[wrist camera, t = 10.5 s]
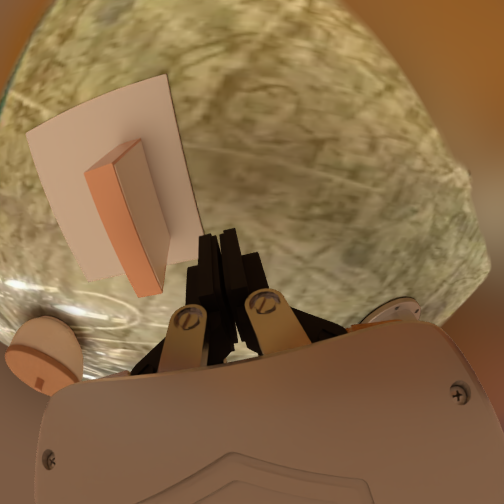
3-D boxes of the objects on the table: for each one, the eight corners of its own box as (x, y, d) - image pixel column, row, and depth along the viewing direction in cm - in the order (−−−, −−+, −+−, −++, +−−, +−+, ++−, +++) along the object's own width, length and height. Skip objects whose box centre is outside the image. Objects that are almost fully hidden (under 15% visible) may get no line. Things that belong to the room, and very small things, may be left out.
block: (171, 237, 23) (163, 293, 17) (151, 242, 23) (138, 297, 17) (141, 137, 18) (112, 162, 12) (119, 144, 18) (83, 173, 12)
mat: (209, 253, 25) (209, 256, 25) (89, 278, 24) (88, 281, 24) (166, 74, 16) (165, 73, 15) (28, 132, 15) (25, 133, 15)
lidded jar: (28, 288, 24) (-2, 349, 16) (100, 329, 29) (86, 395, 21) (21, 331, 27) (2, 383, 19) (81, 363, 32) (70, 417, 25)
